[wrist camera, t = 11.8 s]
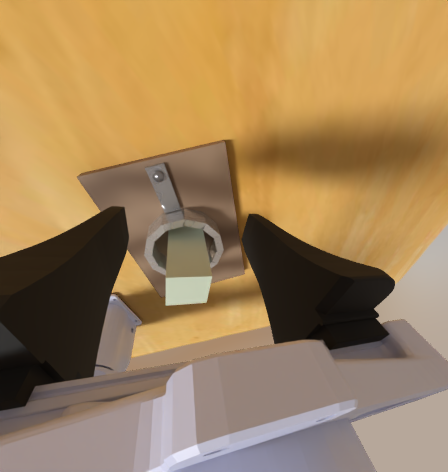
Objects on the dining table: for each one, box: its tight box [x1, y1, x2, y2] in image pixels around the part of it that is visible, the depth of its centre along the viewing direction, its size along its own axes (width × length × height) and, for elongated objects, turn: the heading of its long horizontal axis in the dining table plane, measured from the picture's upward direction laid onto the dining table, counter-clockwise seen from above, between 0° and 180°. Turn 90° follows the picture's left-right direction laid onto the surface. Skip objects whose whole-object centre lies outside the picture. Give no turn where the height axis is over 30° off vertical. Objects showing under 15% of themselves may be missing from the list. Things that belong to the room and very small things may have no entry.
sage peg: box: [166, 226, 212, 306], centre depth 20 cm, size 4×4×8 cm
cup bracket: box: [77, 140, 245, 297], centre depth 23 cm, size 20×14×4 cm
